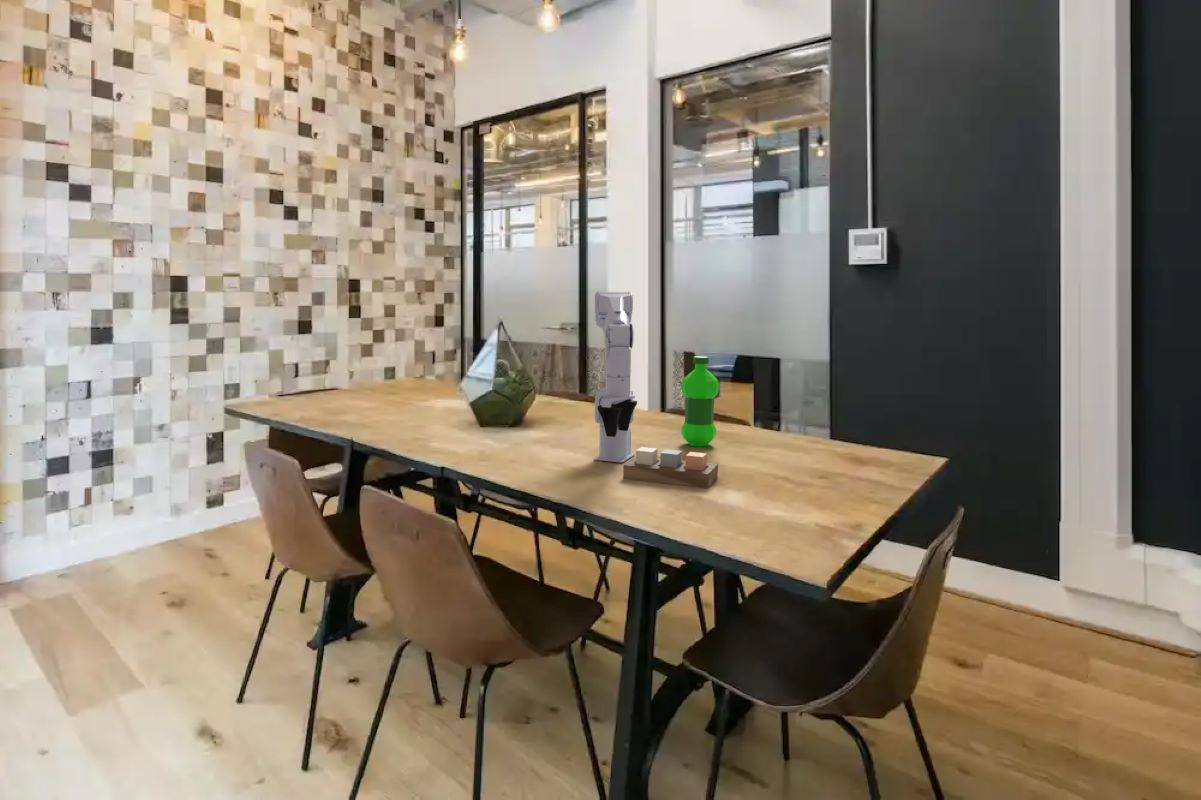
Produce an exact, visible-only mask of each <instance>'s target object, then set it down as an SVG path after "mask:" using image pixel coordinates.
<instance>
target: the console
mask: <svg viewBox="0 0 1201 800" xmlns="http://www.w3.org/2000/svg"><path fill="white" fill-rule="evenodd" d="M685 464H686V460H683V459H682V465H681V466H680V467H679V468H673V467H664V466H660V457H657V463H656V464H655V465H645V464H636V456H635V457H633V458H632V459H630V460H629V461H627V462H626V463H624V464H623V469H622V470H623V475H622V476H623V477H622V478H623V479H625V480H627V479H628V480H633V481H634V480H636V481H642V482H643V481H645V482H652V483H661V484H670V485H678V486H679V485H680V486H686V487H695V488H704V489H708V488H710V486H711V485H712V484H713V483H714V482H715V481H716V479H717V478H718V475H719V464H718V463H712V462H711V463H710V462H707V469H705V470H704V471H702V470H692V469H685Z"/></svg>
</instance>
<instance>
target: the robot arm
mask: <svg viewBox="0 0 1201 800" xmlns="http://www.w3.org/2000/svg"><path fill="white" fill-rule="evenodd" d="M633 299H634V296H633V292H631V291H600V290H599V291H596V292H595V293H594V313H595V314H594V315H595V316H594V319H595V320H594V321H595V325H596V326H597V327H598V328H600V329H602V332H603V335H604V336H603V337H604V339H603V340H604V356H605V357H604V358H605V359H604V362H605V364H604V365H605V366H604V367H605V370H604V371H605V372H604V373H605V382H604V383H605V386H604V387H602V388H601V389H600V390H598V391H597V392H596V394H595V395H594V396H595V397H594V422H595V423H596V424H599V454H598V455H597V456H595V457H593V460H594V461H601V462H602V461H603V462H611V463H612V462H613V463H619V464H621V463H624V462H626V461H627V460H629V459H630V458H632V457H634V456H635V453H634V452H632V430H631V428H630V425H631V424H632V422H634V410H635V409H636V406H637V405H638V401H637V400H634V399H635V398H636V395H635V394H634V391H633V390H631V373H632V372H631V371H632V369H631V368H632V367H631V365H632V361H631V360H632V359H631V358H632V349H633V348H634V347H633V346H634V336H635V335H634V327H633V323H631V322H632V315H633V309H634V307H633V306H634V300H633Z"/></svg>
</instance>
